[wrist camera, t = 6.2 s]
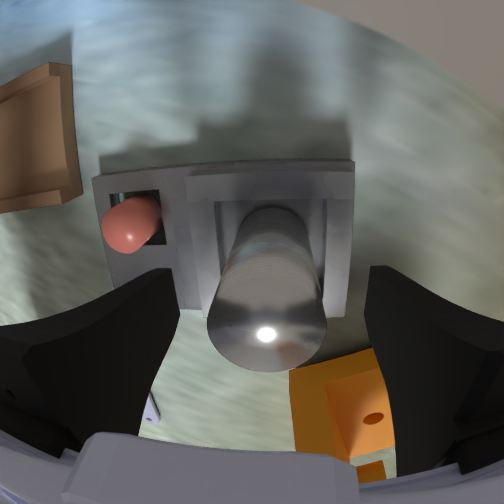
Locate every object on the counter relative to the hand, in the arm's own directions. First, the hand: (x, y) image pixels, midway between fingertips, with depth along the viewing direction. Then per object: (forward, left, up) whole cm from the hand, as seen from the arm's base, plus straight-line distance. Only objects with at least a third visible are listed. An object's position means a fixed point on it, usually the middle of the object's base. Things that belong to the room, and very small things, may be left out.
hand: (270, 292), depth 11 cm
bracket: (+6, -13, -6) cm, 16 cm away
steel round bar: (0, 0, -5) cm, 5 cm away
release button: (-7, +1, -6) cm, 9 cm away
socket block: (-3, 0, -6) cm, 6 cm away
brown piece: (-15, +7, -6) cm, 18 cm away
